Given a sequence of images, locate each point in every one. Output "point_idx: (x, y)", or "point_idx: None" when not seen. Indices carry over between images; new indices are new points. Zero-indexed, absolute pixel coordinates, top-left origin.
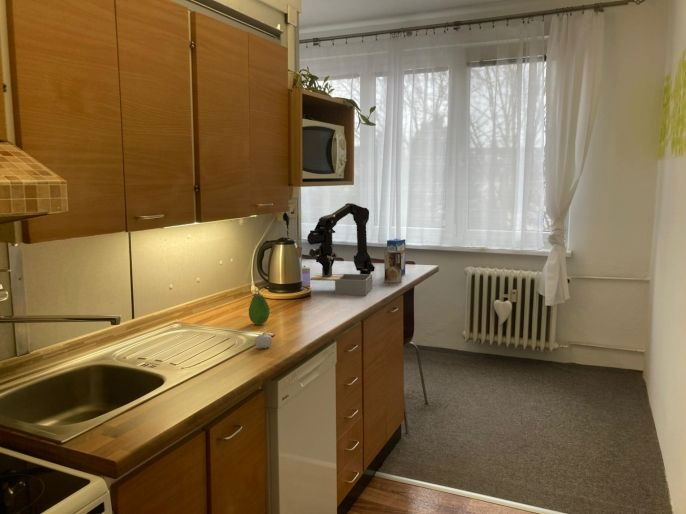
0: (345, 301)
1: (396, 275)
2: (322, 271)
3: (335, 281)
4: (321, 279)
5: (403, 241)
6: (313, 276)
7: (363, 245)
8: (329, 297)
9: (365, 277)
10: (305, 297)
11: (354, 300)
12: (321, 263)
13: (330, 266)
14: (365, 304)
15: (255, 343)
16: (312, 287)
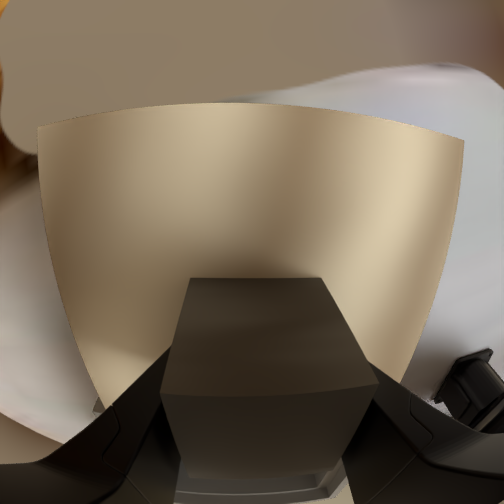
0: (29, 379)
1: None
2: (176, 337)
3: (99, 401)
4: (64, 292)
5: None
6: (204, 116)
7: None
8: (47, 309)
9: (322, 479)
10: (2, 161)
11: (60, 407)
12: (20, 483)
13: (348, 458)
14: (39, 425)
15: None
16: (375, 88)
